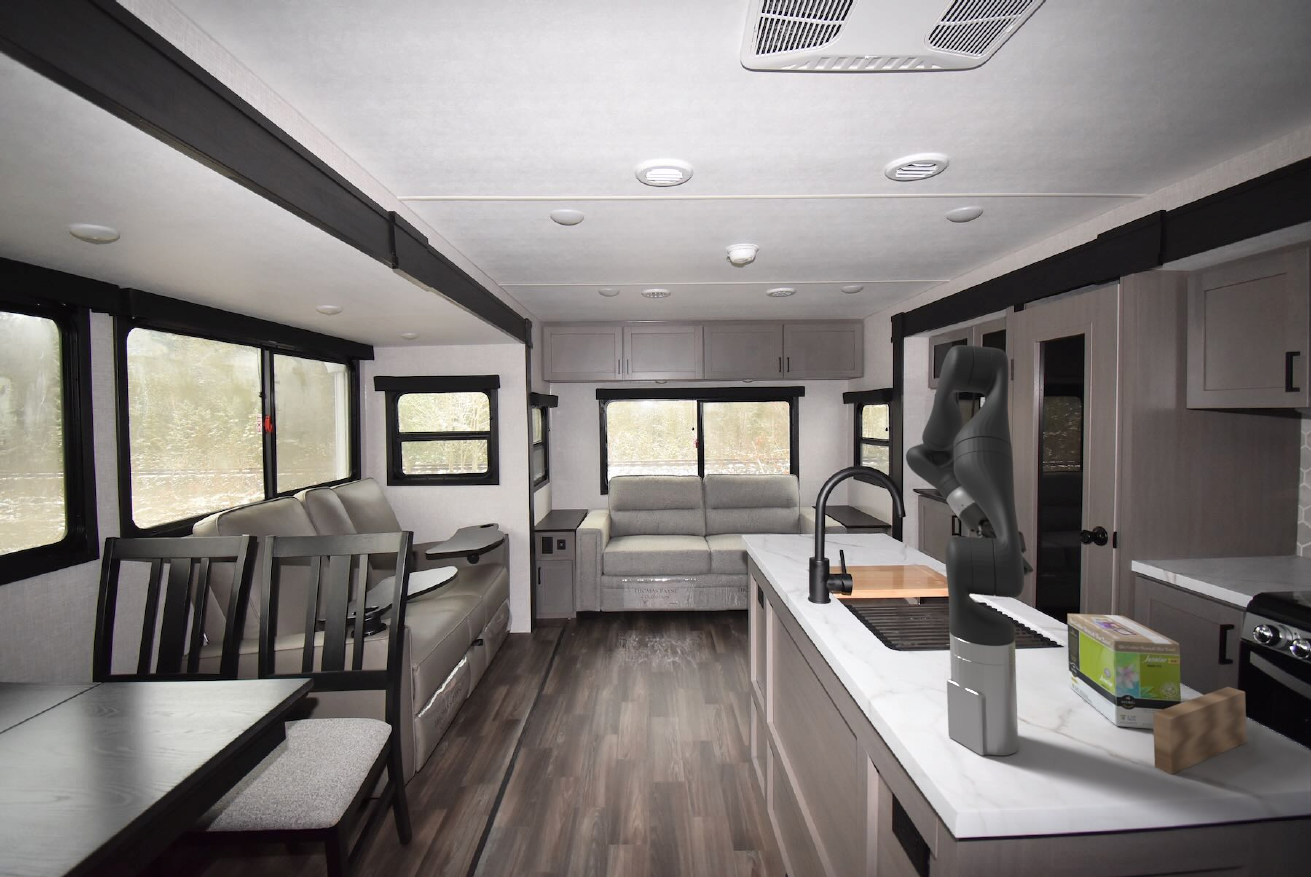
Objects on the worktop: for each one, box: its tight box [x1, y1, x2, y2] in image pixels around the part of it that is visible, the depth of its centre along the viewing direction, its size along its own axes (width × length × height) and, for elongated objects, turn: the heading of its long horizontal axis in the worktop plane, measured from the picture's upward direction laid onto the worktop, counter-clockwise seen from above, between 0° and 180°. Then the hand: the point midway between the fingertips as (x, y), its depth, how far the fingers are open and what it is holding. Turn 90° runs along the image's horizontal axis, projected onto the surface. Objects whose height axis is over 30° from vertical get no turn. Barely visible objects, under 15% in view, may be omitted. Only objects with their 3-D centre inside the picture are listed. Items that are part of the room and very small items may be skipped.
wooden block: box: [1153, 686, 1248, 775], centre depth 83 cm, size 20×2×8 cm, turn 111°
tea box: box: [1066, 613, 1182, 730], centre depth 98 cm, size 15×10×15 cm
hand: (1028, 573), depth 113 cm, fingers closed
